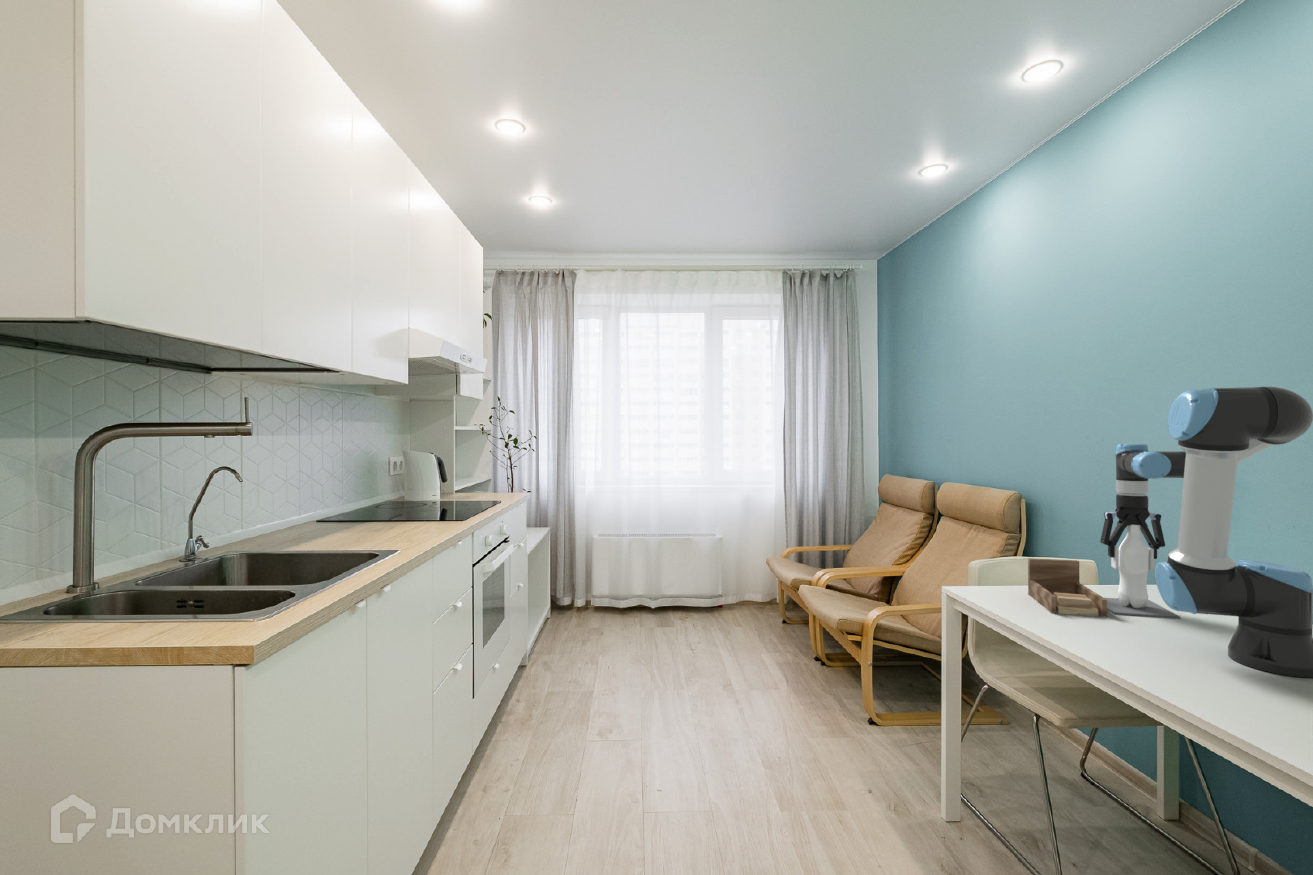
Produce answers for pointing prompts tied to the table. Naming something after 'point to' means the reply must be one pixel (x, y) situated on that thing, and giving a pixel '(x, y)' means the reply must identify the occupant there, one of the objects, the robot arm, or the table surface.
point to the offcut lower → (1076, 610)
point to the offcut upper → (1073, 600)
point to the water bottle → (1133, 569)
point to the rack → (1058, 583)
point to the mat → (1139, 609)
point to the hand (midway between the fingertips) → (1132, 568)
